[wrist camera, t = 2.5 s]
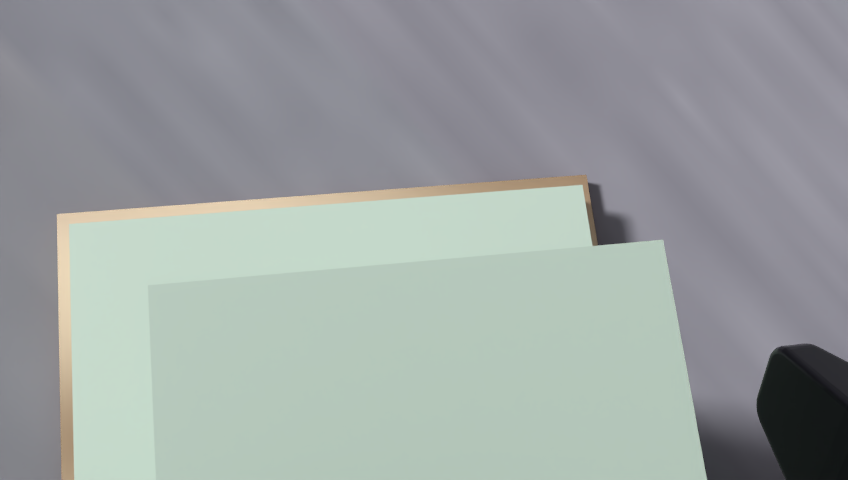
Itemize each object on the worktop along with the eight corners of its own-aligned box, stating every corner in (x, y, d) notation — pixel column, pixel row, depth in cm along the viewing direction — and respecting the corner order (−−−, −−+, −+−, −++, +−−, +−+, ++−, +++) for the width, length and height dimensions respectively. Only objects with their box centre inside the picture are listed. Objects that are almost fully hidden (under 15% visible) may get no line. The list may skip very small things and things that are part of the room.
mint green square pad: (669, 720, 16) (677, 727, 15) (74, 829, 14) (67, 840, 14) (580, 180, 18) (586, 175, 18) (62, 219, 16) (56, 213, 16)
